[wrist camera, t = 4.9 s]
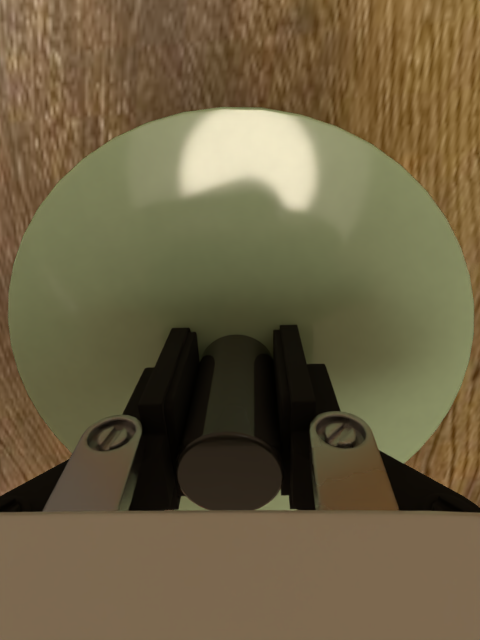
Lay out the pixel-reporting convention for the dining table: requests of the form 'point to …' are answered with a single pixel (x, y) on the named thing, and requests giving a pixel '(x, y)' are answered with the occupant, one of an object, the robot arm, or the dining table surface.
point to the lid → (241, 289)
